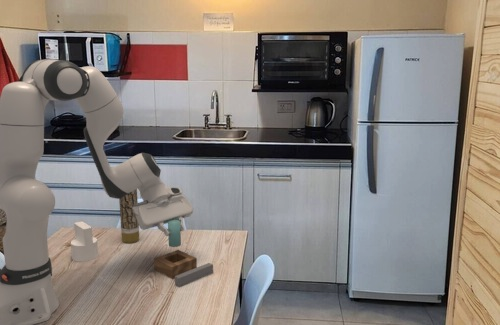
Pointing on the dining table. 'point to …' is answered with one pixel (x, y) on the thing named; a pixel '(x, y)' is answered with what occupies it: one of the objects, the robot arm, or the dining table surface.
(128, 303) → the dining table surface
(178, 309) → the dining table surface
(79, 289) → the dining table surface
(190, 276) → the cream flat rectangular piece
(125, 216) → the wooden log cylinder
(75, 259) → the base with upright slab
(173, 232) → the teal rounded peg
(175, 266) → the socket block
